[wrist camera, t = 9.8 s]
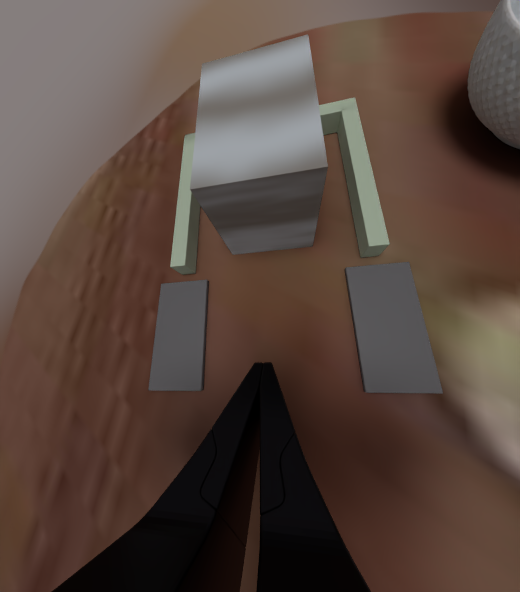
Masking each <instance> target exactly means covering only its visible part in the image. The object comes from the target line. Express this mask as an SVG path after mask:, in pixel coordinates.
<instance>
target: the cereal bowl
mask: <svg viewBox="0 0 520 592" xmlns="http://www.w3.org/2000/svg"><path fill="white" fill-rule="evenodd" d="M467 89H468V92H469V94H468V97H469V99H470V104H471V106H472V109H473V110H474V112H475V115H476V116H477V117H478V118H479V120H480V121H481V122H482V123H483V125H485V127H487V128H488V129H489V130H490V131H492V132H493V134H494V135H495V136H496V137H497V138H498V139H500V140H501V141H502V142H504V143H505V144H508V145H510V146H512V147H514V148H517V149H520V0H501V1H500V2H499V4H498V6H497V8H496V9H495V11H494V13H493V15H492V17H491V19H490V21H489V22H488V24H487V26H486V28H485V30H484V32H483V34H482V36H481V38H480V40H479V43H478V45H477V47H476V50H475V52H474V55H473V58H472V61H471V65H470V69H469V77H468V87H467Z"/></svg>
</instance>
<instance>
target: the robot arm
mask: <svg viewBox="0 0 520 592" xmlns="http://www.w3.org/2000/svg"><path fill="white" fill-rule="evenodd" d="M259 449H260V515H261V516H260V551H259V565H258V578H257V592H371V591H370V589H369V587H368V586H367V584H366V582H365V580H364V579H363V577H362V575H361V573H360V572H359V570H358V568H357V566H356V564H355V563H354V561H353V559H352V557H351V555H350V553H349V551H348V550H347V548H346V546H345V544H344V542H343V540H342V538H341V536H340V534H339V532H338V529H337V527H336V525H335V523H334V521H333V519H332V517H331V515H330V512H329V510H328V508H327V506H326V504H325V502H324V500H323V497H322V495H321V493H320V491H319V489H318V487H317V485H316V482H315V480H314V478H313V476H312V474H311V471H310V469H309V467H308V464H307V462H306V460H305V457H304V454H303V452H302V449H301V446H300V444H299V441H298V438H297V435H296V433H295V429H294V426H293V423H292V420H291V418H290V415H289V412H288V409H287V406H286V403H285V400H284V397H283V394H282V391H281V388H280V385H279V382H278V379H277V376H276V374H275V371H274V368H273V365H272V363H271V362H265V363H254V365H253V366H252V368H251V369H250V371H249V372H248V374H247V375H246V377H245V378H244V380H243V381H242V383H241V384H240V386H239V387H238V389H237V391H236V392H235V394H234V395H233V397H232V398H231V400H230V401H229V403H228V404H227V406H226V407H225V409H224V410H223V412H222V413H221V415H220V416H219V418H218V419H217V421H216V422H215V424H214V425H213V427H212V430H210V431H209V433H208V434H207V436H206V437H205V439H204V440H203V442H202V443H201V445H200V446H199V448H198V449H197V451H196V452H195V453H194V455H193V456H192V457H191V459H190V460H189V461H188V462H187V464H186V465H185V466H184V468H183V469H182V470H181V471H180V473H179V474H178V475H177V477H176V478H175V479H174V480H173V482H172V483H171V484H170V485H169V487H168V488H167V489H166V490H165V492H164V493H163V494H162V495H161V497H160V498H159V499H158V501H157V502H156V503H155V504H154V506H153V507H152V508H151V509H150V510H149V511H148V512H147V514H146V515H145V516H144V517H143V518H142V519H141V520H140V521H139V522H138V523H137V524H136V525H134V526H133V527H132V528H131V529H130V530H129V531H127V532H126V533H125V534H124V535H122V536H121V537H120V538H119V539H117V540H116V541H115V542H114V543H112V544H111V545H110V546H109V547H107V548H106V549H105V550H104V551H102V552H101V553H100V554H99V555H97V556H96V557H95V558H94V559H92V560H91V561H90V562H88V563H87V564H86V565H85V566H83V567H82V568H81V569H80V570H78V571H77V572H76V573H75V574H73V575H72V576H71V577H70V578H68V579H67V580H66V581H65V582H63V583H62V584H61V585H60V586H58V587H57V588H56V589H54V590H53V591H52V592H240V586H241V578H242V571H243V564H244V557H245V550H246V548H245V547H246V542H247V535H248V528H249V521H250V513H251V506H252V499H253V492H254V485H255V477H256V470H257V463H258V456H259Z"/></svg>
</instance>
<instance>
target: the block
mask: <svg viewBox="0 0 520 592" xmlns="http://www.w3.org/2000/svg"><path fill="white" fill-rule="evenodd" d="M327 168H328V164H327V158H326V151H325V144H324V138H323V131H322V124H321V118H320V111H319V104H318V97H317V91H316V84H315V77H314V71H313V64H312V57H311V51H310V44H309V37H308V35H305V36H301V37H297V38H294V39H290V40H287V41H283V42H279V43H276V44H272V45H269V46H265V47H261V48H258V49H254V50H250V51H247V52H243V53H240V54H236V55H233V56H229V57H225V58H222V59H218V60H214V61H211V62H207V63H203V64H202V72H201V82H200V92H199V102H198V112H197V122H196V132H195V143H194V153H193V163H192V173H191V183H190V190H191V192H192V193H193V195H194V196H195V198H196V200H197V201H198V203H199V204H200V206H201V207H202V209H203V210H204V212H205V213H206V215H207V216H208V218H209V219H210V221H211V222H212V224H213V225H214V227H215V229H216V230H217V232H218V233H219V235H220V236H221V238H222V239H223V241H224V242H225V244H226V245H227V247H228V248H229V250H230V251H231V253H232V254H233V255H234V254H244V253H253V252H263V251H273V250H283V249H292V248H302V247H312V246H313V242H314V236H315V231H316V226H317V221H318V215H319V210H320V205H321V200H322V195H323V189H324V184H325V179H326V174H327Z"/></svg>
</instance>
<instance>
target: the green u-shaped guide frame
mask: <svg viewBox="0 0 520 592" xmlns="http://www.w3.org/2000/svg"><path fill="white" fill-rule="evenodd" d="M319 111H320V118H321V124H322V131H323V135H326V134H331V133H336V132H337V133H338V139H339V144H340V150H341V155H342V160H343V166H344V171H345V176H346V182H347V187H348V192H349V198H350V203H351V209H352V214H353V219H354V225H355V230H356V235H357V241H358V246H359V252H360V257H372V256H379V255H380V254H381V253H382V252H383V251H384V250H385V249H386V247H387V246H388V245H389V239H388V235H387V231H386V227H385V223H384V218H383V214H382V210H381V206H380V201H379V197H378V193H377V189H376V185H375V180H374V176H373V172H372V168H371V163H370V159H369V155H368V151H367V146H366V142H365V138H364V134H363V130H362V125H361V121H360V117H359V113H358V108H357V104H356V100H355V98H350V99H346V100H341V101H337V102H332V103H328V104H323V105H319ZM194 143H195V133H192V134H188V135H185V139H184V148H183V157H182V166H181V175H180V184H179V193H178V202H177V211H176V220H175V229H174V238H173V247H172V256H171V265H170V267H171V268H173V269H174V270H176V271H178V272H179V273H181V274H182V275H183V274H193V273H196V260H197V246H198V232H199V218H200V204H199V203H198V201H197V200H196V198H195V196H194V195H193V193H192V192H191V190H190V183H191V173H192V163H193V153H194ZM345 274H346V281H347V287H348V293H349V300H350V306H351V312H352V319H353V325H354V331H355V337H356V344H357V350H358V356H359V363H360V369H361V375H362V382H363V388H364V392H366V393H443V391H442V387H441V384H440V380H439V376H438V372H437V368H436V364H435V360H434V357H433V353H432V349H431V345H430V341H429V337H428V334H427V330H426V326H425V322H424V318H423V314H422V311H421V307H420V303H419V299H418V295H417V291H416V287H415V284H414V280H413V276H412V272H411V268H410V264H409V262H403V263H392V264H380V265H369V266H358V267H347V268H345ZM208 286H209V281H208V280H200V281H188V282H177V283H166V284H161V291H160V299H159V307H158V316H157V324H156V332H155V340H154V349H153V357H152V365H151V373H150V381H149V390H161V391H202V390H203V385H204V365H205V345H206V326H207V306H208Z"/></svg>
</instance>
